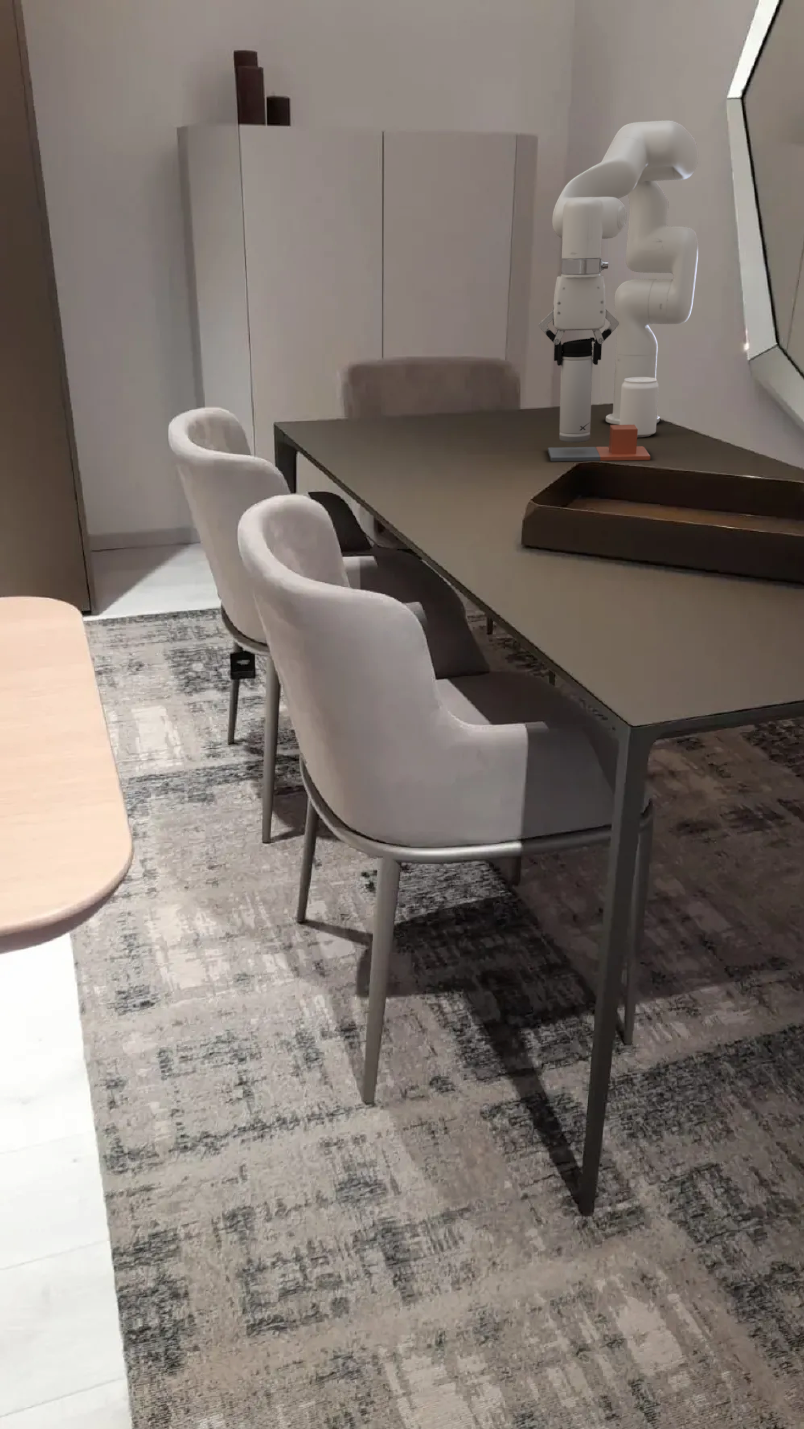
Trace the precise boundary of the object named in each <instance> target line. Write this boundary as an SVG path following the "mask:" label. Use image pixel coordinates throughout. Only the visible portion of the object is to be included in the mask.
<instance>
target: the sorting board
mask: <svg viewBox="0 0 804 1429" xmlns="http://www.w3.org/2000/svg"><path fill="white" fill-rule="evenodd" d="M547 453H548V455H549V460H550V462H597V461H598V462H599V461H600V462H601V461H602V462H603V461H605V462H606V461H608V462H609V461H651V455H650V454H649V452H648V450H647V449H646V447H645V446H644V445H639V446H638V445H637V449H636V454H611V452H610V450H609V446H576V447H575V446H569V447H565V446H564V447H563V446H562V447H548V448H547Z"/></svg>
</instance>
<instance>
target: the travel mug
mask: <svg viewBox="0 0 804 1429" xmlns="http://www.w3.org/2000/svg"><path fill="white" fill-rule="evenodd" d="M595 339H596V338H595V336H594V337H592V336H591V337H589V338H580V339H573V340H568V341H565V342H562V343H561V344H562V365H560V389H559V390H560V392H559V393H560V395H559V396H560V397H559V435H558V436H559V438H558V439H559V441H561V442H564V443H584V442H588V441H589V440H590V439H591V420H592V393H593V392H592V391H593V390H592V386H593V343H595Z"/></svg>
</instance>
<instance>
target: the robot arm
mask: <svg viewBox="0 0 804 1429" xmlns="http://www.w3.org/2000/svg"><path fill="white" fill-rule="evenodd" d="M698 162H699V147H698V144H697V142H696V139H695V137H694V136H693V135H692V134H691V132H689V131H688V129H687V128H685V126H684V125H682V123H679V122H677V121H675V120H669V119H667V120H650V121H635V122H630V123H627V124H625V125H622V126H621V127H620V128H619V129H618V131H616V134H614V138H613V139H612V141H611V142H610V144H609V147H608V148H607V149H606V152H605V154H604V156H603V157H602V159H601V162H598V163H596V164H595V165H593V166H591V167H590V168H588V169H586V170H585V171H583V172H580V173H579V174H578V175H576V176H575V177H573V178H572V179H571V180H569V181H568V182H567V183H566V184H565V186H564V187H563V188H562V190H561V193H560V195H559V196H558V197H557V201H556V202H555V205H554V207H553V210H552V211H553V212H552V217H551V223H552V224H551V225H552V229H553V231H554V234H556V236H558V237H559V238H560V239H562V240H561V241H562V242H561V245H562V246H561V271H560V272H561V273H560V275H559V276H557V277H556V280H555V286H554V292H553V293H554V295H553V305H552V310H551V311H550V312H549V313H548V314H547V315H546V316H545V317H544V318H543V319H541V321H539V322H538V327H539V328H540V329H541V331H542V332H543V333H544V334H545V335H546V337H547V338H548V339H549V340H550V342H552V343H553V361H554V362H556V365H557V366H560V367H561V365H562V344H563V343H562V338H563V337H564V334H565V332H566V331H592V333H593V336H594V338H595V342H593V344H592V347H593V350H592V352H593V353H592V355H593V357H592V360H593V361H592V365H594V366H598V365H599V361H602V350H603V349H602V348H603V343H604V342H605V341H606V340H607V339H608V338H609V337H610V336H611V335H612V333H613V332H614V331H616V338H615V340H616V342H615V359H614V360H615V361H614V379H613V380H614V382H613V398H612V399H613V401H612V413H609V414H606V416H605V422H606V423H607V424H610V425H619V424H620V406H621V388H622V384H623V383H624V379H626V378H632V377H649V378H655V379H657V364H658V352H659V345H658V344H659V343H658V339H657V338H656V335H655V333H654V331H653V330H652V329H651V327H650V326H649V325H681V324H684V323H685V322H687V321H689V318H690V316H691V313H692V310H693V306H694V305H693V304H694V299H695V298H694V296H695V287H696V280H697V270H698V260H699V248H700V247H699V246H700V245H699V238H698V235H697V232H696V230H694V229H693V228H692V227H689V226H668V218H669V209H670V204H669V198H668V196H667V195H666V193H665V191H664V190H663V188H662V187H661V186H660V184H659V182H661V181H663V182H664V181H683V180H687V179H689V178H691V177H692V175H693V174H694V172H695V171H696V170H697V166H698V164H699V163H698ZM658 181H659V182H658ZM626 196H627V197H628V202H629V203H628V204H629V212H628V213H629V214H627V209H626V206H625V204H624V203H623V201H621V198H623V197H626ZM627 215H628V226H627V234H626V235H627V236H626V248H625V263H626V267H627V268H628V269H629V270H630V271H632V272H634V273H643V274H644V273H647V274H649V273H650V274H651V273H652V274H653V273H654V274H672V276H673V279H670V278H669V279H667V278H666V279H665V278H663V279H661V278H658V279H657V278H634V279H633V278H632V279H629V280H626V281H623V282H622V283H621V284H619V286H618V287H617V288H616V290H615V293H614V300H613V301H614V302H613V303H614V304H613V305H614V307H613V308H614V313H615V314H614V315H615V316H614V315H613V314H612V313H610V312H609V311H608V310H607V309H606V308H607V307H606V285H605V277H604V275H601V273H602V271H604V270H608V269H609V261H605V260H603V259H602V245H603V244H602V242H603V239H604V240H606V239H613V238H615V237H617V236H619V235H620V234H621V233H622V232H623V230H624V228H625V227H626V225H627V224H626V223H627ZM606 320H607V321H608V322H609V325H608V326H607V327H606V328H605V329H604V330H603V331H602V332H601V329H603V328H604V327H605V324H606ZM551 322H552V325H553V327H554V328H555V329H556V331H555V333H554V332H553V331H552V329H550V328H549V326H548V325H549V324H550V323H551ZM660 418H661V417H660V416H659V415H658V414H657V422H656V424H658V423H659V422H660Z"/></svg>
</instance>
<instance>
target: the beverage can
mask: <svg viewBox="0 0 804 1429" xmlns="http://www.w3.org/2000/svg"><path fill="white" fill-rule="evenodd" d="M659 391H660V384H659V383H658V378H656V379H655V378H649V377H632V378H626V379H624V383H623V384H622V388H621V406H620V424H619V425H635V426H636V428H637V429H638V433H637V438H645V437H646V438H647V437H650V436H652V435H654V434H656V432H657V423H656V422H657V415H658V408H659V407H658V405H659V394H660V393H659Z"/></svg>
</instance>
